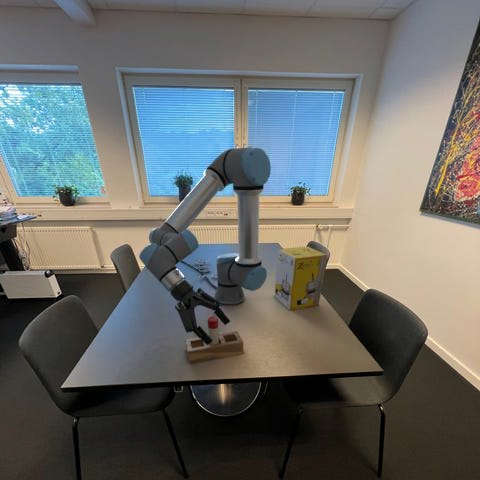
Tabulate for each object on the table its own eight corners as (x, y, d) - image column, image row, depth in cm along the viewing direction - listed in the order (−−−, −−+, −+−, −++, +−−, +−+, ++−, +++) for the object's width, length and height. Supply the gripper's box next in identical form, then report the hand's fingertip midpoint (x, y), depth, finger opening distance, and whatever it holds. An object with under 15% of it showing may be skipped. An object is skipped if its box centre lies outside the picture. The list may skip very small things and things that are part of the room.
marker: (209, 349, 96) (206, 317, 88) (218, 348, 96) (216, 315, 89) (210, 355, 93) (208, 322, 86) (220, 353, 94) (218, 320, 86)
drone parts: (226, 261, 189) (226, 257, 187) (235, 279, 160) (235, 274, 158) (194, 262, 184) (194, 258, 183) (197, 280, 155) (197, 275, 153)
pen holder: (186, 350, 95) (185, 339, 93) (237, 341, 100) (237, 330, 98) (189, 363, 89) (187, 351, 86) (243, 353, 94) (243, 341, 91)
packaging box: (318, 305, 128) (327, 255, 115) (289, 310, 123) (295, 258, 110) (301, 292, 141) (307, 246, 128) (274, 296, 136) (278, 249, 123)
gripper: (159, 293, 74) (208, 347, 77) (202, 267, 94) (240, 311, 97) (148, 306, 79) (194, 357, 81) (191, 279, 99) (227, 320, 101)
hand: (219, 332), depth 89 cm, fingers open, 13 cm apart
